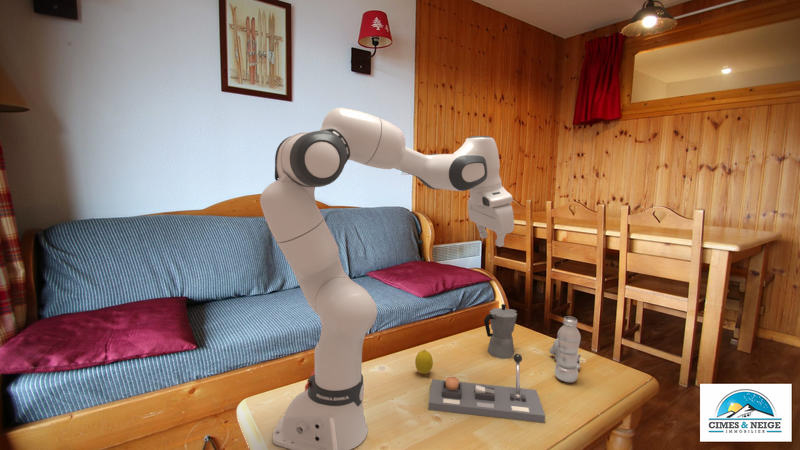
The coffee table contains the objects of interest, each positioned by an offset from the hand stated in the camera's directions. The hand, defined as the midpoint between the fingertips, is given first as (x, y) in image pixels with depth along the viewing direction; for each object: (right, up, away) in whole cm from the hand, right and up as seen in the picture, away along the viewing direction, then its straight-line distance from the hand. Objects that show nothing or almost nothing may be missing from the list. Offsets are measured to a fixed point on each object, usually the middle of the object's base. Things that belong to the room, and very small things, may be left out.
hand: (491, 241), depth 109 cm
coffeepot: (+9, -41, +27) cm, 50 cm away
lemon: (-19, -43, +12) cm, 48 cm away
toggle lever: (+6, -42, -4) cm, 43 cm away
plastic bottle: (+26, -44, +10) cm, 52 cm away
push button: (-12, -41, -2) cm, 42 cm away
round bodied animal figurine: (+30, -43, +21) cm, 56 cm away
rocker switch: (-3, -41, -3) cm, 42 cm away
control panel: (-3, -45, -3) cm, 45 cm away
